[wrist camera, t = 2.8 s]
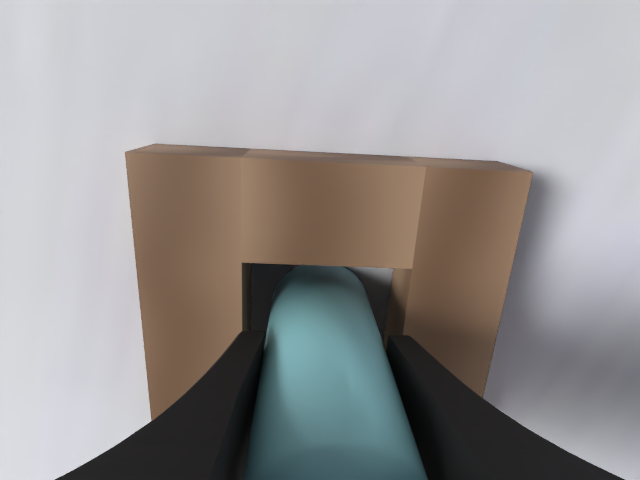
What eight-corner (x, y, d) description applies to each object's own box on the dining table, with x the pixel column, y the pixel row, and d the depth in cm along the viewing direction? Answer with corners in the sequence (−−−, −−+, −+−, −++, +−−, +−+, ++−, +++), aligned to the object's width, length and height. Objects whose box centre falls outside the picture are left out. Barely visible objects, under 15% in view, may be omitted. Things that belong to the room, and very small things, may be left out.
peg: (371, 263, 14) (449, 444, 7) (363, 348, 15) (421, 587, 8) (272, 259, 14) (235, 442, 6) (271, 346, 15) (238, 589, 8)
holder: (496, 161, 13) (532, 172, 11) (445, 428, 17) (465, 475, 15) (154, 143, 13) (125, 151, 11) (175, 424, 16) (156, 472, 14)
